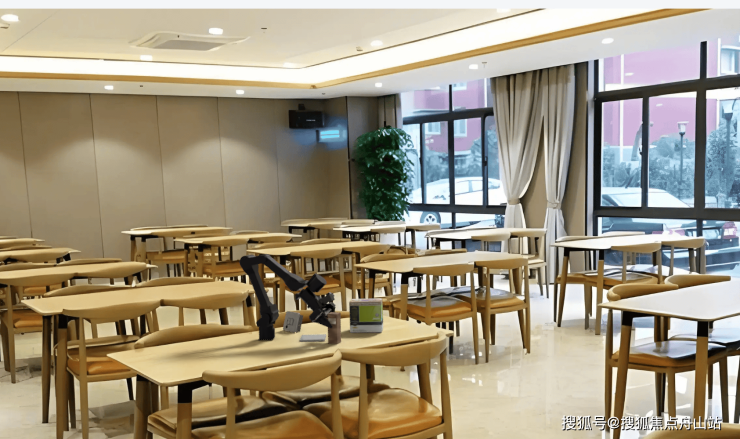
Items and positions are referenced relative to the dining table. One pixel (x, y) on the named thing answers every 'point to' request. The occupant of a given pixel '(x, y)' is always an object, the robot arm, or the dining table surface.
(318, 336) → the slate coaster
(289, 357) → the dining table surface
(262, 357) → the dining table surface
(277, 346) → the dining table surface
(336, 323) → the walnut block
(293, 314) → the electrical switch
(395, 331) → the dining table surface
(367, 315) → the tea box
